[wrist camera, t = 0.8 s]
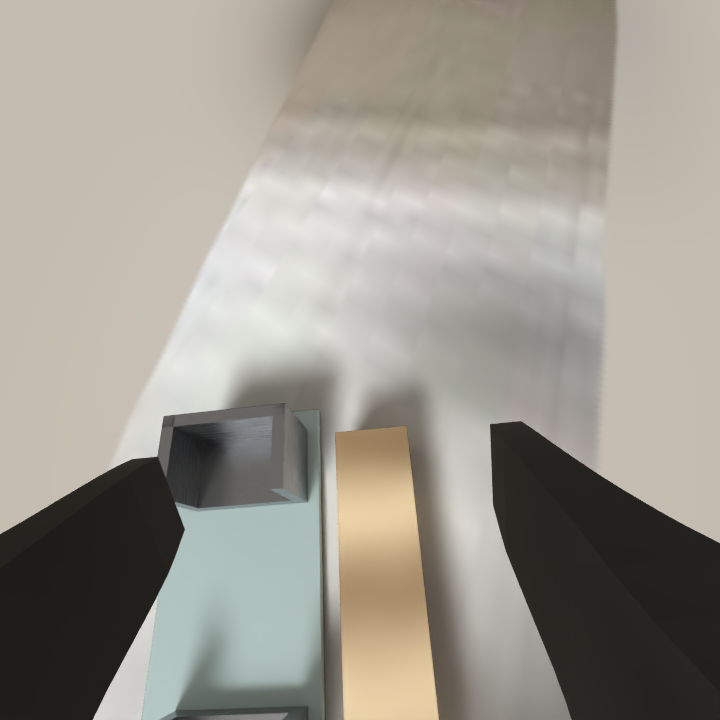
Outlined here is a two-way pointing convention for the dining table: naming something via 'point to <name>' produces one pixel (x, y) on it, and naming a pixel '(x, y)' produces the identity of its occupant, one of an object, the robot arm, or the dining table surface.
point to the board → (244, 607)
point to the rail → (381, 581)
